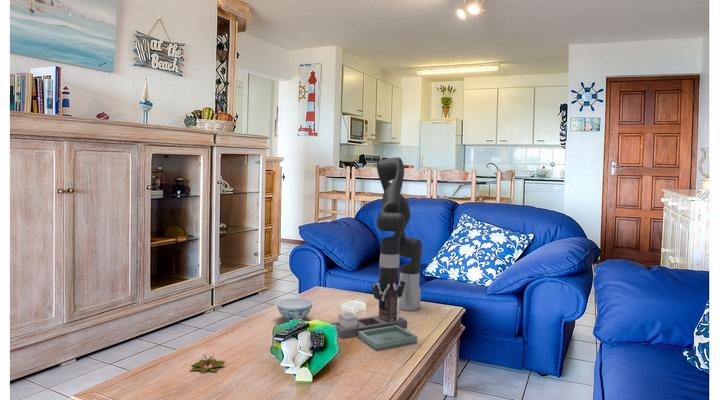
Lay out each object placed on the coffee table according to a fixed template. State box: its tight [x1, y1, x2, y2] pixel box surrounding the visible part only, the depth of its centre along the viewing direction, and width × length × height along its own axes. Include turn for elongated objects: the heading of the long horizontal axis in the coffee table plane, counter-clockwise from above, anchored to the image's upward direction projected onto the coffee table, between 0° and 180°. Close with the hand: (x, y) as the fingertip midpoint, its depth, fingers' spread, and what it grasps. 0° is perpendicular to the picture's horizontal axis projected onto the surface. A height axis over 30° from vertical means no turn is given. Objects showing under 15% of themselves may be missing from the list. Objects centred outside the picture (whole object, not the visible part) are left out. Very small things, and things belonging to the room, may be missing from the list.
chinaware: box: [276, 297, 314, 322], centre depth 204 cm, size 15×15×8 cm
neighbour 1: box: [338, 312, 358, 329], centre depth 192 cm, size 5×6×7 cm
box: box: [378, 290, 398, 323], centre depth 184 cm, size 6×4×12 cm
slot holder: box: [330, 315, 408, 340], centre depth 197 cm, size 30×10×3 cm, turn 119°
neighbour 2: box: [396, 309, 401, 321], centre depth 201 cm, size 5×6×7 cm
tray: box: [357, 325, 418, 351], centre depth 184 cm, size 18×14×2 cm
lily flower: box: [189, 352, 226, 374], centre depth 157 cm, size 12×12×5 cm
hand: (387, 308), depth 184 cm, fingers closed on box, 4 cm apart
